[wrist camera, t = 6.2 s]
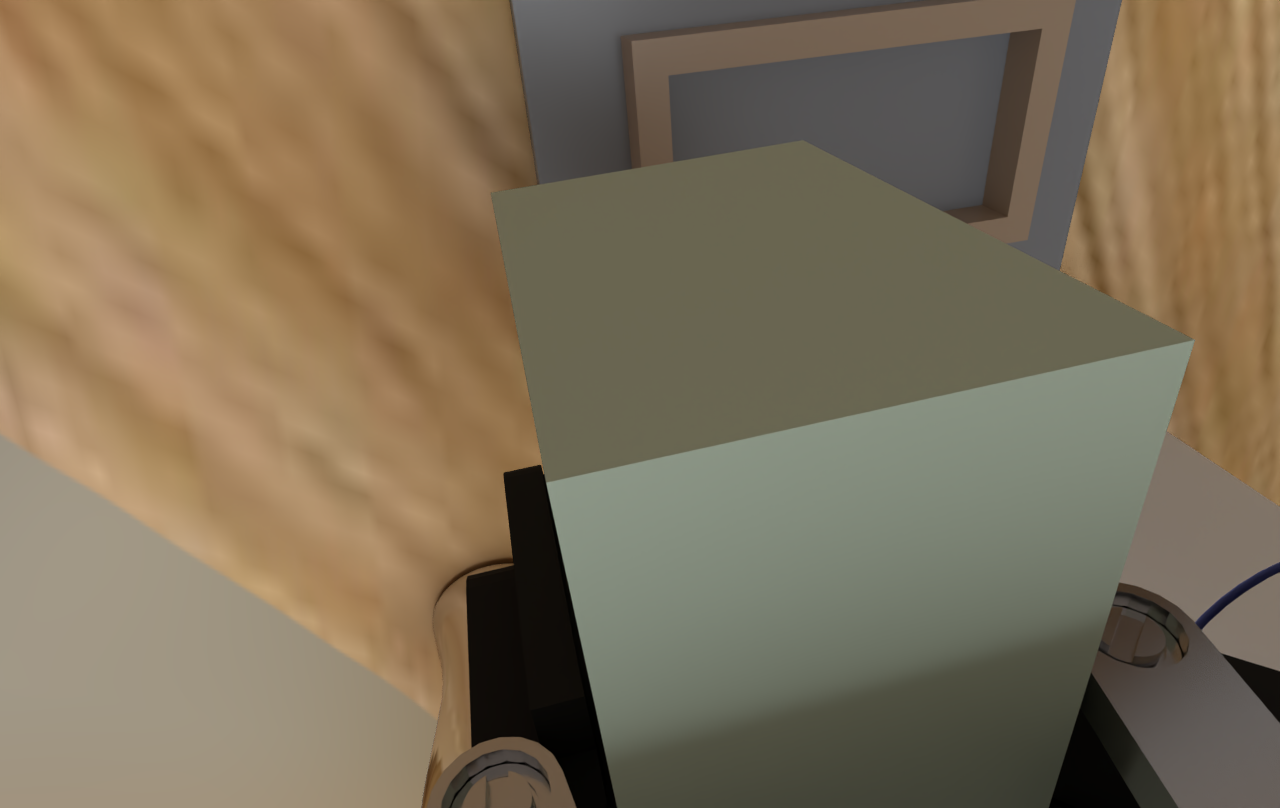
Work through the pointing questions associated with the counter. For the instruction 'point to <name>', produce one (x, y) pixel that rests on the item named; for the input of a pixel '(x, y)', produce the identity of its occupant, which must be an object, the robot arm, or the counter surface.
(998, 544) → the key block
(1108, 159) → the counter surface
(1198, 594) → the cylindrical container
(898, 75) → the base plate
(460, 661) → the beer glass
